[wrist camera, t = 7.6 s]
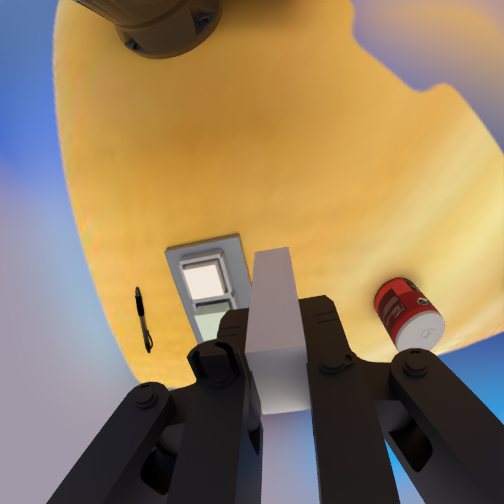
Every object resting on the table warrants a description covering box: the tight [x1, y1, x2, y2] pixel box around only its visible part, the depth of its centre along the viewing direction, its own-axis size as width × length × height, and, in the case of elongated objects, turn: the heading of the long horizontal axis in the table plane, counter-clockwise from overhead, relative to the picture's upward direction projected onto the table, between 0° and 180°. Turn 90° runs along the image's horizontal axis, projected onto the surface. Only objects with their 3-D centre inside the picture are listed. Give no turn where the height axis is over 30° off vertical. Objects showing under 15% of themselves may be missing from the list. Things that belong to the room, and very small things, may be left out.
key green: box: [194, 302, 230, 341], centre depth 40 cm, size 4×4×2 cm
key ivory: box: [183, 258, 226, 300], centre depth 39 cm, size 4×4×2 cm
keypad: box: [164, 234, 252, 344], centre depth 43 cm, size 21×11×4 cm, turn 12°
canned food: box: [375, 278, 445, 352], centre depth 37 cm, size 8×8×11 cm
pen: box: [135, 288, 153, 353], centre depth 46 cm, size 14×2×1 cm, turn 178°
